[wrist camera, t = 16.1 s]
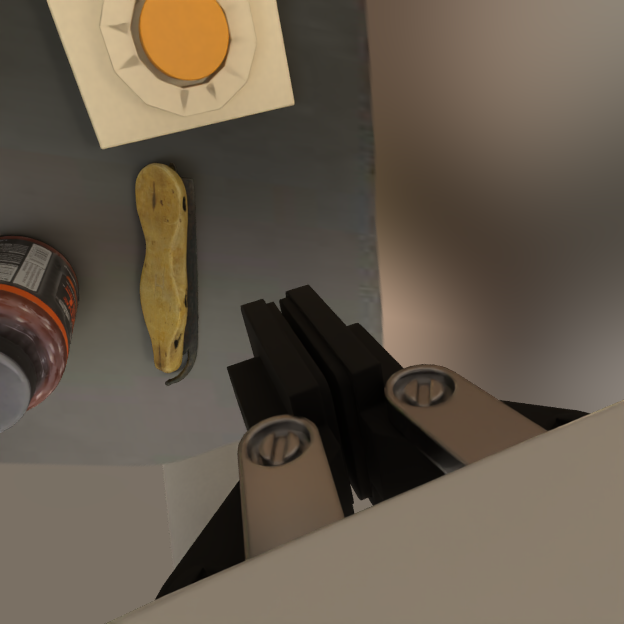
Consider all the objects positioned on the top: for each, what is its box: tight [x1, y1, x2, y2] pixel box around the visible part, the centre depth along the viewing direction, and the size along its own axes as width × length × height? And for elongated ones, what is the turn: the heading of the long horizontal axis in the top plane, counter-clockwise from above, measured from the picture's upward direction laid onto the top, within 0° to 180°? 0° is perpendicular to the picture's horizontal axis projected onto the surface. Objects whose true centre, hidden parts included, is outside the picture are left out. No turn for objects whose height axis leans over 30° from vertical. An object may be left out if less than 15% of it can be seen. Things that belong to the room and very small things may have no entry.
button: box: [138, 0, 229, 81], centre depth 21 cm, size 4×4×2 cm
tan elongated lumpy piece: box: [135, 163, 198, 386], centre depth 30 cm, size 3×14×3 cm
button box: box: [46, 0, 295, 149], centre depth 24 cm, size 8×10×4 cm
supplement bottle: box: [0, 236, 79, 433], centre depth 23 cm, size 6×6×11 cm
